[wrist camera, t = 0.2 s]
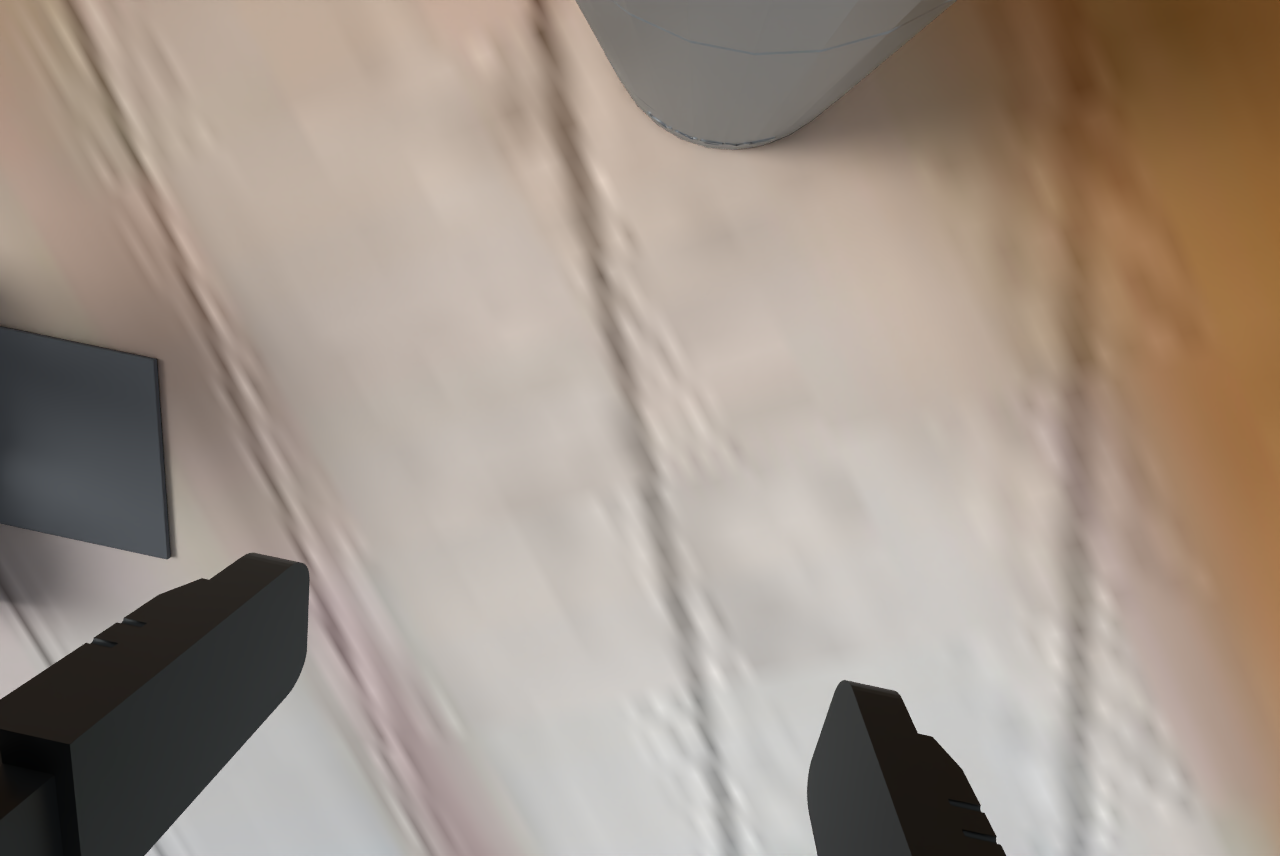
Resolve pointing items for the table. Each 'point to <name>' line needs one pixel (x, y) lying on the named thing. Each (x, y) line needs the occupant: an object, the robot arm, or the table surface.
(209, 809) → the table surface
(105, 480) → the pad
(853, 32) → the robot arm
